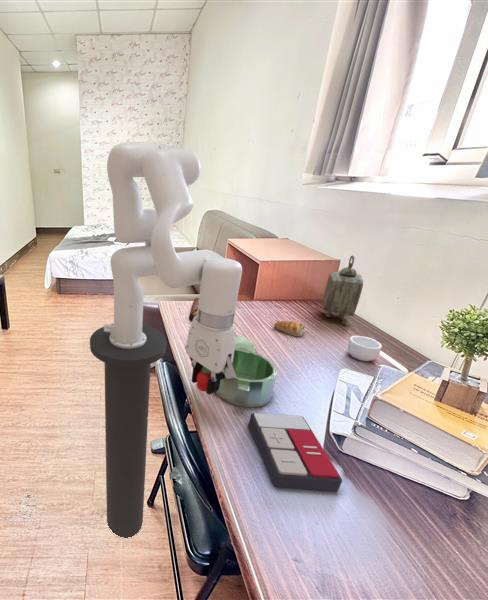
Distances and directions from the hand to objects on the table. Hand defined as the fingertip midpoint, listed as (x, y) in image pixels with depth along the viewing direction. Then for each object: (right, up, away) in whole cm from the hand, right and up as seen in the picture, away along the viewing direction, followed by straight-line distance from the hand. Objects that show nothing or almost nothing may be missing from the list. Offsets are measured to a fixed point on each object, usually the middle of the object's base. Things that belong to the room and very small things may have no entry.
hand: (204, 385), depth 73 cm
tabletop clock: (+65, +13, +48) cm, 82 cm away
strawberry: (0, 0, 0) cm, 0 cm away
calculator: (+13, -11, -11) cm, 21 cm away
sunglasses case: (+14, +14, +52) cm, 56 cm away
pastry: (+42, +9, +38) cm, 57 cm away
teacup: (+55, +3, +23) cm, 60 cm away
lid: (+16, +5, +28) cm, 32 cm away
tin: (+12, -3, +8) cm, 15 cm away
